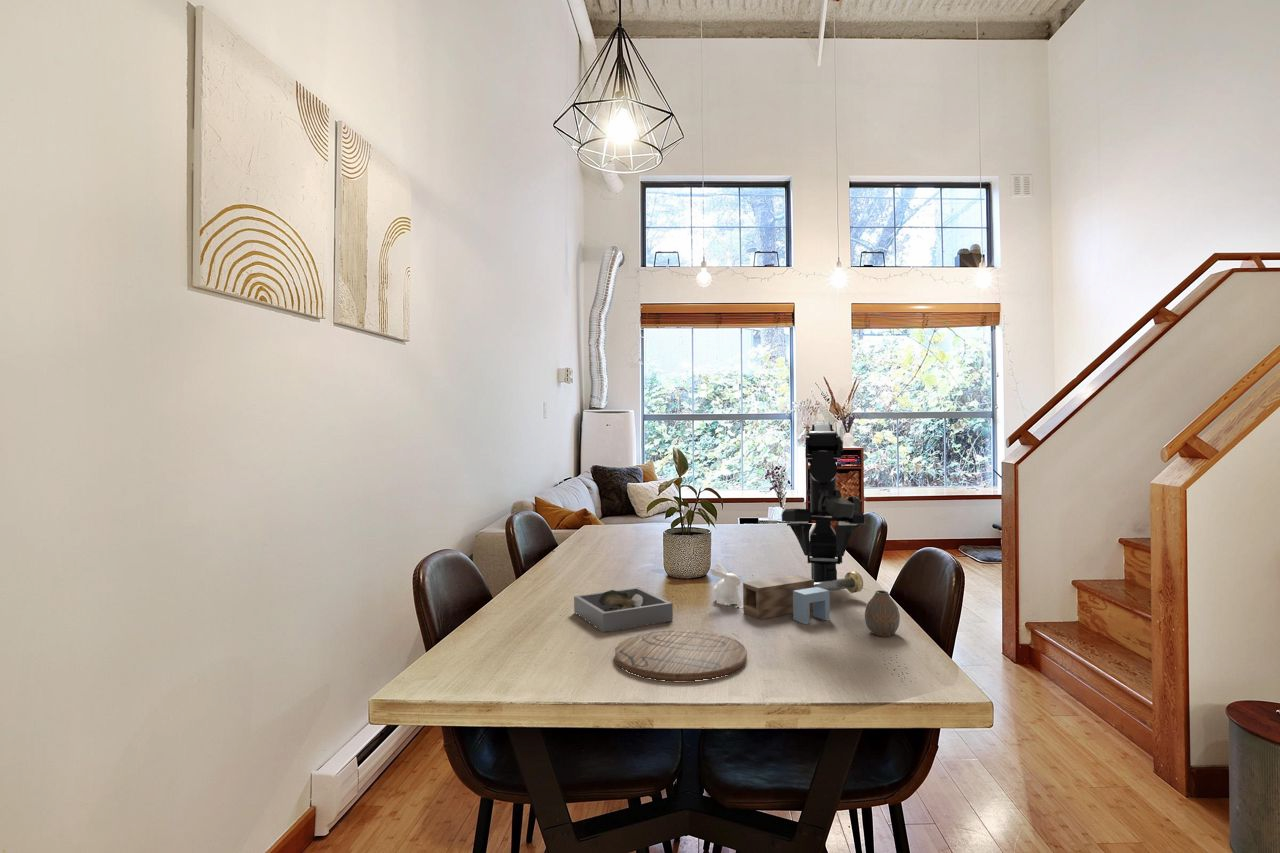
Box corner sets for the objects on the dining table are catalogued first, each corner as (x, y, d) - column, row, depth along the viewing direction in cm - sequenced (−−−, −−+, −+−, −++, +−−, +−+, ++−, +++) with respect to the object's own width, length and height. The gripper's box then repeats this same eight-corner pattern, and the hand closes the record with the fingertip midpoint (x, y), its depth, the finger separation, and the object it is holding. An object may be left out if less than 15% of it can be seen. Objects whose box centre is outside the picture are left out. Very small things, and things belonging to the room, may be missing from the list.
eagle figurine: (616, 605, 166) (591, 606, 159) (631, 582, 164) (607, 582, 157) (635, 627, 161) (610, 630, 154) (651, 604, 160) (627, 605, 153)
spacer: (793, 619, 156) (793, 590, 156) (817, 615, 159) (817, 586, 159) (805, 624, 152) (804, 594, 152) (829, 619, 155) (829, 590, 155)
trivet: (730, 692, 116) (730, 680, 116) (593, 674, 125) (593, 664, 125) (758, 645, 140) (758, 636, 140) (641, 633, 148) (641, 625, 148)
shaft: (799, 604, 162) (799, 583, 162) (785, 600, 167) (785, 579, 167) (863, 594, 171) (863, 573, 171) (848, 589, 176) (848, 570, 176)
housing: (759, 619, 156) (758, 588, 156) (743, 612, 162) (743, 582, 162) (814, 609, 164) (814, 579, 164) (797, 603, 169) (797, 574, 169)
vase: (894, 628, 148) (894, 587, 148) (904, 639, 141) (903, 596, 141) (861, 628, 149) (861, 587, 149) (869, 638, 142) (868, 595, 142)
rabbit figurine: (745, 609, 165) (744, 568, 165) (714, 610, 164) (713, 569, 164) (733, 596, 177) (732, 558, 177) (704, 598, 176) (703, 560, 176)
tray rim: (574, 613, 164) (574, 596, 164) (638, 603, 171) (638, 587, 171) (603, 632, 148) (603, 613, 148) (672, 620, 156) (672, 603, 156)
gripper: (809, 481, 146) (810, 556, 144) (880, 486, 153) (882, 558, 151) (780, 484, 157) (780, 554, 154) (848, 488, 163) (849, 556, 161)
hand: (824, 556), depth 155 cm, fingers open, 9 cm apart
